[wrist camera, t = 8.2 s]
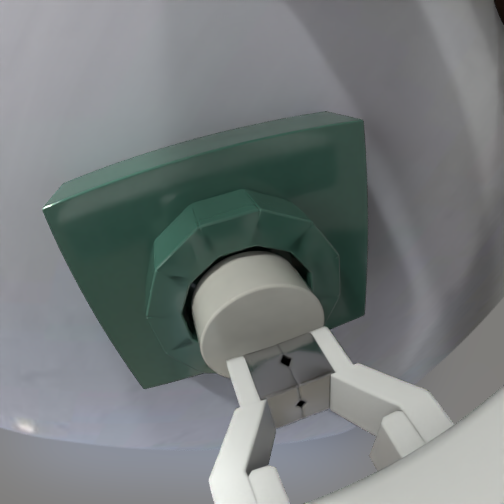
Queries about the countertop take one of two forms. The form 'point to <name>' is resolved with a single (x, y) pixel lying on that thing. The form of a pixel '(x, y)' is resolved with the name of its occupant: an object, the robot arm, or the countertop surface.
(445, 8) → the countertop surface
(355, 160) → the button base
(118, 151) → the countertop surface
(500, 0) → the coffee mug
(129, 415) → the countertop surface
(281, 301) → the grey button cap
